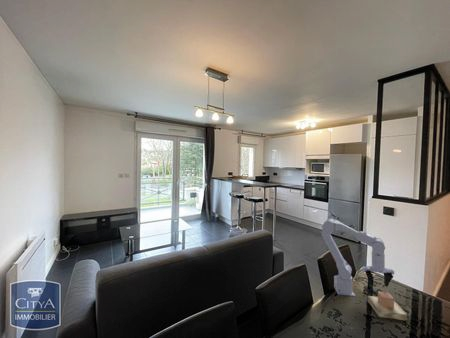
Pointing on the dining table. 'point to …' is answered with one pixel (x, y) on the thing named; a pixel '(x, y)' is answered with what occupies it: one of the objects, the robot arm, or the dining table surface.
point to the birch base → (387, 309)
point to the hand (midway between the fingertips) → (378, 284)
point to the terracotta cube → (385, 299)
